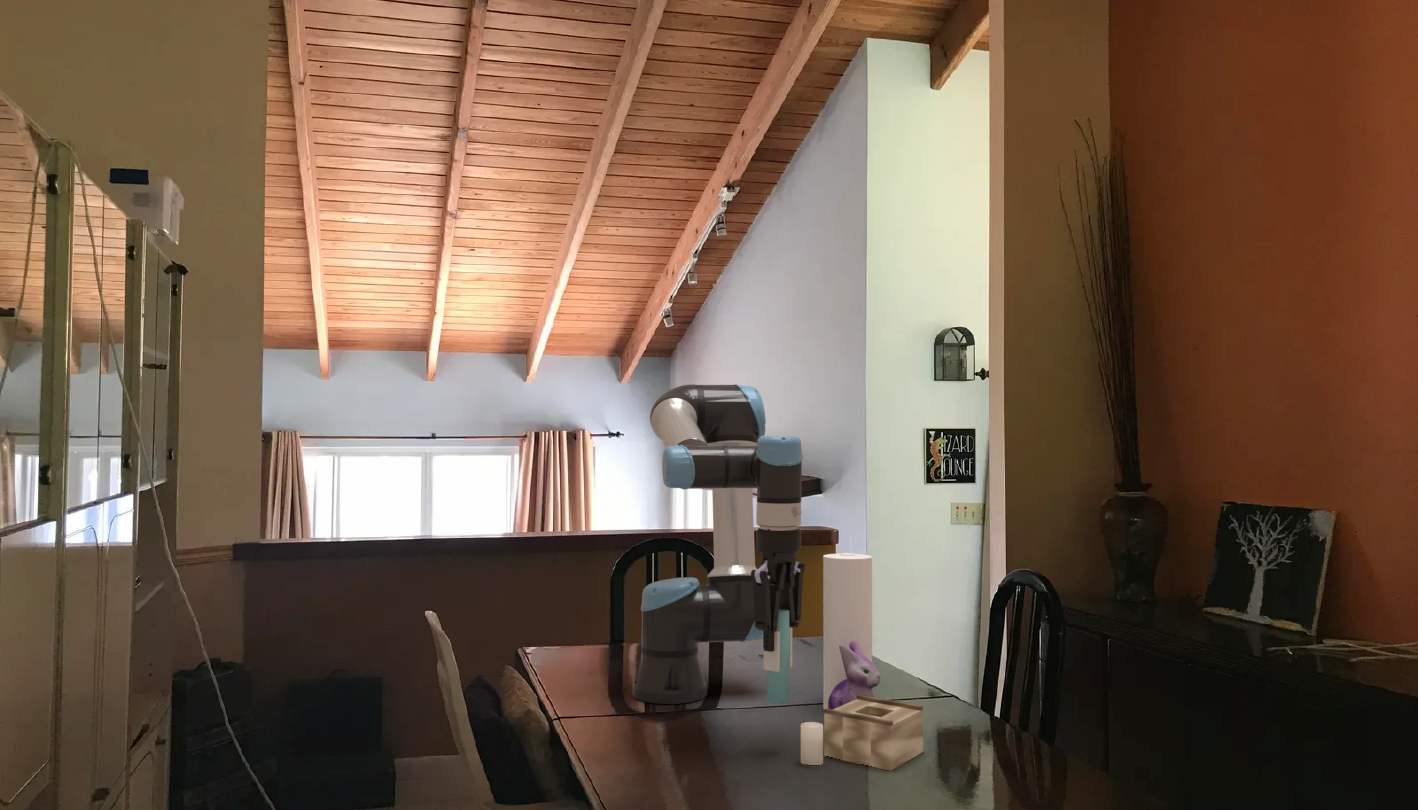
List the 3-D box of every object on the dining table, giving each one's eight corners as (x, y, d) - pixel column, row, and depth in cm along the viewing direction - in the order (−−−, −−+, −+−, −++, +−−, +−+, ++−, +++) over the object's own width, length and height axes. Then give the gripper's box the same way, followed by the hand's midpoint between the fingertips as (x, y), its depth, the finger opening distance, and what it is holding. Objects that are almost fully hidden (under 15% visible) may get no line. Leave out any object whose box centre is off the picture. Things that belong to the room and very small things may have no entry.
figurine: (878, 733, 174) (878, 648, 175) (822, 727, 178) (822, 644, 179) (887, 719, 183) (887, 638, 184) (834, 714, 187) (834, 634, 187)
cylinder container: (871, 716, 185) (870, 556, 186) (821, 713, 187) (821, 555, 188) (873, 704, 194) (872, 551, 195) (825, 701, 196) (825, 550, 197)
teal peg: (763, 701, 164) (763, 611, 164) (774, 696, 167) (775, 607, 167) (781, 705, 162) (781, 613, 162) (792, 700, 165) (793, 610, 165)
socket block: (824, 756, 162) (824, 709, 162) (859, 738, 171) (859, 694, 172) (890, 770, 154) (890, 722, 155) (923, 751, 164) (922, 705, 164)
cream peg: (796, 763, 158) (796, 725, 158) (808, 757, 161) (808, 720, 161) (815, 767, 156) (815, 729, 156) (827, 761, 159) (827, 724, 159)
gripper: (771, 533, 156) (770, 681, 156) (822, 525, 169) (822, 661, 169) (732, 529, 161) (731, 674, 160) (785, 522, 174) (785, 655, 173)
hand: (778, 667), depth 164 cm, fingers closed on teal peg, 3 cm apart
